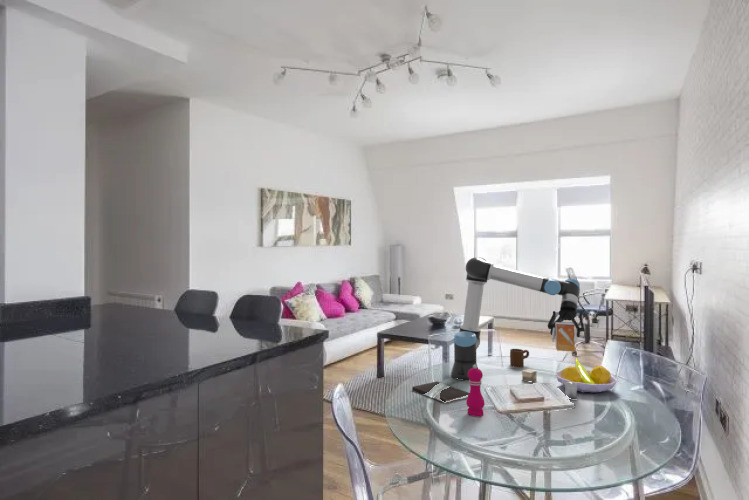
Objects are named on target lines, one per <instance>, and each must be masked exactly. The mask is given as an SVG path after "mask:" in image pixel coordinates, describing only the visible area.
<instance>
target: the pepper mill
mask: <svg viewBox="0 0 749 500" xmlns="http://www.w3.org/2000/svg"><path fill="white" fill-rule="evenodd" d="M477 366H478V364H477V365H476V364H474V365H473V368H471V369H470V370H469V371H468V377H469V379H470V380H469V382H468V384H469V385H470V387H469V392H468V393H469V395H468V397H467V398H466V403H465V404H466V405H467V407H468V408H467V415H469V414H470V415H469V416H471V415H472V417H476V416H478V417H482V416H484V409H483V408H484V407H485V399H484V396H483V394H482V392H481V385H482V384H483V383H482V379H483V372H482V370H481V369H480V368H479V367H478V368H477Z"/></svg>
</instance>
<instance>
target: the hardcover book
mask: <svg viewBox="0 0 749 500" xmlns="http://www.w3.org/2000/svg"><path fill="white" fill-rule="evenodd" d="M439 383H441V382H440V381H432V382H429V383H424V384H419V385H414V386H412V387H411V390H412V391H413V392H416V393H418V394H420V395H422V394H425V393H427V392H429V391H430V390H431V389H432V388H433V387H434V386H435V385H437V384H439ZM449 386H450V387H449V388H447V389H444V390H442V391H441V393H440V399H441V400H442V401H444V402H446V401H450V400H453V399H456V398H461V397H463V396H466V395H469V393H470V392H468V391H465V390H462V389H460V388H456V387H454V386H451V385H449Z"/></svg>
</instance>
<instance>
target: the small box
mask: <svg viewBox="0 0 749 500" xmlns="http://www.w3.org/2000/svg"><path fill="white" fill-rule="evenodd" d="M554 322H555V321H554ZM575 329H576V328H575V326H574V324H573V322H564V321H563V322H555V339H554V340H555V349H556V351H558V352H573V353H574V352H576V344H575V343H574V336H575Z"/></svg>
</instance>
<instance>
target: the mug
mask: <svg viewBox="0 0 749 500" xmlns="http://www.w3.org/2000/svg"><path fill="white" fill-rule="evenodd" d="M509 351H510V352H509V364H510V366H511V367H513V366H514V368H523V367H524V363H525V361H524V360H526V359H528V358H529V356H530V351H529V350H527V349H521V348H520V349H519V348H511V349H510V350H509ZM524 354H525V355H524Z"/></svg>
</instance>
